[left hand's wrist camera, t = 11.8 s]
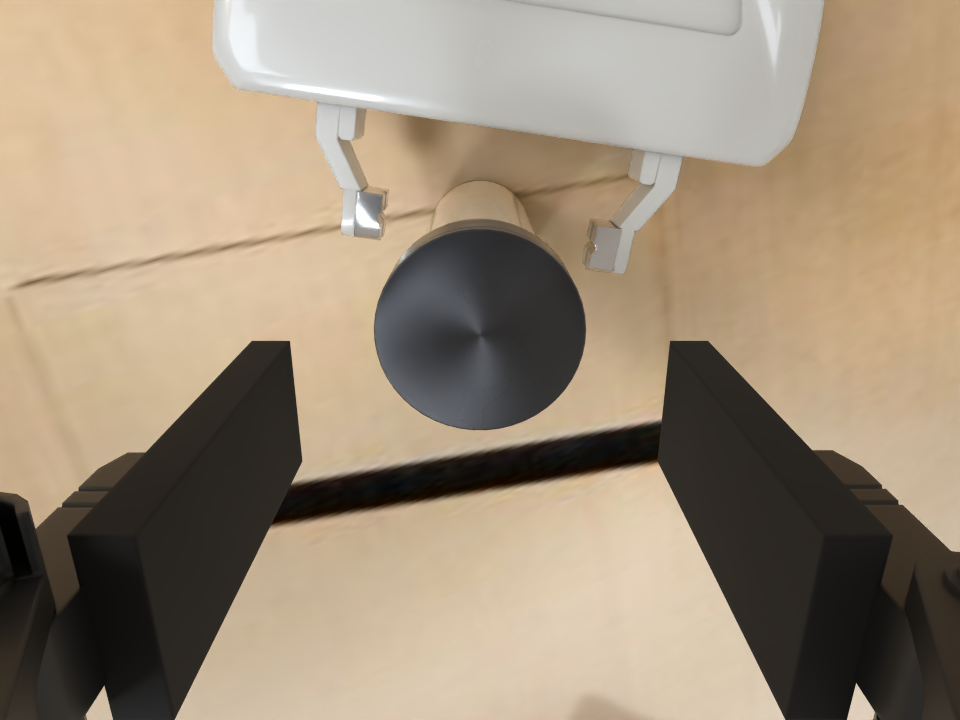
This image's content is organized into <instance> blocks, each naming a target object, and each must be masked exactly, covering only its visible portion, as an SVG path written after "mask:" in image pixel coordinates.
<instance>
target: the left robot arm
mask: <svg viewBox="0 0 960 720" xmlns="http://www.w3.org/2000/svg"><path fill="white" fill-rule="evenodd" d="M301 463H302V454H301V444H300V434H299V425H298V415H297V405H296V396H295V386H294V377H293V367H292V357H291V348H290V341H252V342H251V343H250V344H249V345H248V346H247V347H246V348H245V349H244V350H243V351H242V352H241V353H240V354H239V355H238V356H237V357H236V358H235V359H234V360H233V361H232V363H231V364H230V365H229V366H228V367H227V368H226V369H225V370H224V371H223V372H222V373H221V374H220V375H219V376H218V377H217V378H216V379H215V380H214V381H213V382H212V383H211V385H210V386H209V387H208V388H207V389H206V390H205V391H204V392H203V393H202V394H201V395H200V396H199V397H198V398H197V399H196V400H195V401H194V402H193V403H192V404H191V406H190V407H189V408H188V409H187V410H186V411H185V412H184V413H183V414H182V415H181V416H180V417H179V418H178V419H177V420H176V421H175V422H174V423H173V424H172V425H171V427H170V428H169V429H168V430H167V431H166V432H165V433H164V434H163V435H162V436H161V437H160V438H159V439H158V440H157V441H156V442H155V443H154V444H153V445H152V446H151V448H150V449H149V450H148V451H147V452H146V453H126V454H125V455H123V456H121V457H119V458H117V459H115V460H114V461H112V462H110V463H108V464H106V465H104V466H103V467H101V468H99V469H98V470H97V471H96V472H94V473H93V474H92V475H91V476H90V477H89V478H88V479H87V480H86V481H85V482H84V483H83V484H82V485H81V486H80V487H79V491H75V492H74V493H73V494H72V495H71V496H70V497H68V498H67V499H66V500H65V501H64V502H63V503H62V508H57V509H56V510H55V511H54V512H53V513H52V514H51V515H50V516H49V517H48V518H47V519H46V520H45V521H44V522H42V523H41V524H40V525H39V526H38V527H37V528H36V529H35V526H34V522H33V518H32V515H31V511H30V507H29V504H28V501H27V500H25V499H24V498H22V497H21V496H19V495H17V494H11V493H3V492H0V720H87V718H86V713H87V711H88V710H89V708H90V707H91V705H92V704H93V702H94V701H95V699H96V697H97V696H98V694H99V693H100V691H101V690H102V688H103V687H104V685H105V689H106V693H107V697H108V701H109V705H110V709H111V713H112V717H113V720H175V718H176V716H177V714H178V712H179V710H180V708H181V706H182V704H183V702H184V700H185V698H186V696H187V693H188V691H189V689H190V687H191V685H192V683H193V681H194V679H195V677H196V675H197V673H198V671H199V669H200V667H201V665H202V663H203V661H204V659H205V657H206V655H207V653H208V651H209V649H210V647H211V645H212V643H213V641H214V639H215V637H216V635H217V633H218V631H219V629H220V627H221V625H222V623H223V621H224V619H225V617H226V615H227V613H228V611H229V609H230V606H231V604H232V602H233V600H234V598H235V596H236V594H237V592H238V590H239V588H240V586H241V584H242V582H243V580H244V578H245V576H246V574H247V572H248V570H249V568H250V566H251V564H252V562H253V560H254V558H255V556H256V554H257V552H258V550H259V548H260V546H261V544H262V542H263V540H264V538H265V536H266V534H267V532H268V530H269V528H270V526H271V524H272V522H273V519H274V517H275V515H276V513H277V511H278V509H279V507H280V505H281V503H282V501H283V499H284V497H285V495H286V493H287V491H288V489H289V487H290V485H291V483H292V481H293V479H294V477H295V475H296V473H297V471H298V469H299V467H300V465H301ZM658 463H659V465H660V467H661V469H662V471H663V473H664V475H665V477H666V479H667V481H668V483H669V485H670V487H671V489H672V491H673V493H674V495H675V497H676V499H677V501H678V503H679V505H680V507H681V509H682V511H683V513H684V515H685V517H686V519H687V522H688V524H689V526H690V528H691V530H692V532H693V534H694V536H695V538H696V540H697V542H698V544H699V546H700V548H701V550H702V552H703V554H704V556H705V558H706V560H707V562H708V564H709V566H710V568H711V570H712V572H713V574H714V576H715V578H716V580H717V582H718V584H719V586H720V588H721V590H722V592H723V594H724V596H725V598H726V600H727V602H728V604H729V606H730V609H731V611H732V613H733V615H734V617H735V619H736V621H737V623H738V625H739V627H740V629H741V631H742V633H743V635H744V637H745V639H746V641H747V643H748V645H749V647H750V649H751V651H752V653H753V655H754V657H755V659H756V661H757V663H758V665H759V667H760V669H761V671H762V673H763V675H764V677H765V679H766V681H767V683H768V685H769V687H770V689H771V691H772V693H773V696H774V698H775V700H776V702H777V704H778V706H779V708H780V710H781V712H782V714H783V716H784V718H785V720H847V717H848V713H849V709H850V705H851V701H852V697H853V693H854V689H855V685H856V683H857V685H858V686H859V688H860V689H861V691H862V692H863V694H864V695H865V697H866V698H867V700H868V702H869V703H870V705H871V706H872V708H873V709H874V711H875V714H874V718H873V720H960V552H953V551H950V550H949V549H948V548H947V547H946V546H945V545H944V544H943V543H942V542H941V541H940V540H939V539H938V538H937V537H936V536H935V535H934V534H932V533H931V532H930V531H929V530H928V529H927V528H926V527H925V526H924V525H923V524H922V523H921V522H920V521H919V520H918V519H917V518H916V517H915V516H914V515H913V514H912V513H910V512H909V511H908V510H907V509H906V508H905V507H904V506H903V505H899V504H898V500H897V499H896V498H895V497H894V496H893V495H892V494H891V493H890V492H888V491H887V490H886V489H882V485H881V484H880V483H879V482H878V481H877V480H876V479H875V478H874V477H873V476H872V475H871V474H870V473H869V472H868V471H866V470H865V469H864V468H863V467H862V466H860V465H859V464H857V463H855V462H853V461H851V460H849V459H848V458H846V457H844V456H842V455H840V454H838V453H836V452H835V451H833V450H811V449H810V448H809V446H808V445H807V444H806V443H805V442H804V441H803V440H802V439H801V438H800V437H799V436H798V435H797V434H796V433H795V432H794V431H793V430H792V429H791V428H790V427H789V425H788V424H787V423H786V422H785V421H784V420H783V419H782V418H781V417H780V416H779V415H778V414H777V413H776V412H775V411H774V410H773V409H772V408H771V407H770V406H769V404H768V403H767V402H766V401H765V400H764V399H763V398H762V397H761V396H760V395H759V394H758V393H757V392H756V391H755V390H754V389H753V388H752V387H751V386H750V385H749V383H748V382H747V381H746V380H745V379H744V378H743V377H742V376H741V375H740V374H739V373H738V372H737V371H736V370H735V369H734V368H733V367H732V366H731V365H730V364H729V363H728V361H727V360H726V359H725V358H724V357H723V356H722V355H721V354H720V353H719V352H718V351H717V350H716V349H715V348H714V347H713V346H712V345H711V344H710V343H709V342H708V341H670V348H669V357H668V367H667V377H666V386H665V396H664V405H663V415H662V425H661V434H660V444H659V454H658Z"/></svg>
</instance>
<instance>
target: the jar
mask: <svg viewBox="0 0 960 720" xmlns="http://www.w3.org/2000/svg"><path fill="white" fill-rule="evenodd" d="M468 219H492V220H499V221H504V222H507V223H511V224H514V225H517V226H519V227H521V228H524V229H526V230H528V231H529V232H531V233H533V234H534V235H535V233H534V231H533V228H532V226H531V223H530V221H529V219H528V216H527V214H526V211H525V209H524V207H523V205H522V203H521V202H520V201H519V199H518V198H517V197H516V196H515V195H514V194H513V193H512V192H511V191H509V190H508V189H507V188H505V187H503V186H501V185H499V184H497V183H493V182H489V181H471V182H467V183H463V184H461V185H459V186H457V187H455V188H453V189H452V190H451V191H449V192H448V193H447V194H446V195H445V196H444V197H443V198H442V199H441V201H440V202H439V204H438V205H437V207H436V209H435V211H434V214H433V216H432V219H431V221H430V223H429V226H428V228H427V231H426V233H425V235H426V234H427V233H429V232H431V231H433V230H434V229H436V228H439V227H441V226H444V225H446V224H449V223H453V222H457V221H460V220H468Z"/></svg>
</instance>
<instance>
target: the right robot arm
mask: <svg viewBox="0 0 960 720" xmlns="http://www.w3.org/2000/svg"><path fill="white" fill-rule="evenodd" d="M824 2H825V0H214V10H213V27H212V52H213V56H214V58H215V60H216V62H217V64H218V65H219V67H220V68H221V70H222V71H223V73H224V74H225V76H226V77H227V79H228V80H229V82H230V83H231V84H232V86H233V87H234V88H236V89H238V90H243V91H249V92H256V93H263V94H269V95H276V96H283V97H289V98H296V99H303V100H309V101H316V102H317V118H316V138H317V140H318V143H319V145H320V147H321V149H322V151H323V153H324V155H325V157H326V159H327V161H328V164H329V166H330V168H331V170H332V172H333V174H334V176H335V178H336V180H337V182H338V184H339V187H340V188H342V189H344V191H343V206H342V221H341V232H342V235H344V236H350V237H359V238H367V239H375V240H381V237H383V235H384V232H385V226H386V216H385V214H384V212H383V211H384V210H385V208H386V207H387V206H388V194H389V189H383V188H377V187H371V186H368V183H367V180H366V178H365V176H364V173H363V171H362V169H361V166H360V164H359V162H358V159H357V157H356V154H355V152H354V150H353V147H352V145H351V143H350V141H353V140H356V139H359V138H361V137H363V136H364V128H365V117H366V109H370V110H376V111H383V112H390V113H396V114H403V115H410V116H416V117H423V118H430V119H437V120H443V121H450V122H457V123H463V124H470V125H477V126H483V127H490V128H497V129H503V130H510V131H517V132H524V133H530V134H537V135H544V136H550V137H557V138H564V139H570V140H577V141H584V142H591V143H597V144H604V145H611V146H617V147H624V148H631V149H633V151H632V156H631V162H630V167H629V172H628V175H629V177H630V178H631V179H633V180H635V181H637V182H639V185H638V186H637V187H636V188H635V190H634V191H633V192H632V193H631V195H630V196H629V197H628V198H627V199H626V201H625V202H624V203H623V204H622V206H621V207H620V208H619V209H618V210H617V212H616V213H615V214H614V215H613V217H612V218H611V219H610V220H611V221H607V220H598V219H590V221H589V226H588V231H587V236H588V238H589V242H588V243H587V244H586V245H585V246H584V252H583V265H585V266H586V267H585V268H586V269H588V270H594V271H601V272H607V273H614V274H621V275H623V274H624V273H625V271H626V268H627V265H628V260H629V256H630V251H631V247H632V242H633V238H634V233H635V231H639V230H640V229H641V227H642V226H643V225H644V224H645V223H646V222H647V221H648V220H649V219H650V217H651V216H652V215H653V214H654V213H655V212H656V211H657V210H658V208H659V207H660V206H661V205H662V204H663V203H664V202H665V201H666V199H667V198H668V197H669V196H670V195H671V194H672V193H673V192H674V191H675V189H676V185H677V181H678V176H679V172H680V168H681V164H682V160H683V156H684V157H691V158H698V159H704V160H711V161H718V162H724V163H731V164H738V165H745V166H752V167H762V166H764V165H766V164H767V163H769V162H770V161H771V160H772V159H773V158H775V157H776V156H777V155H778V154H779V153H780V152H781V151H782V150H783V149H784V148H785V147H787V146H788V145H789V143H790V142H791V141H792V139H793V137H794V135H795V132H796V130H797V127H798V124H799V121H800V118H801V114H802V110H803V107H804V103H805V99H806V95H807V91H808V87H809V83H810V79H811V74H812V70H813V65H814V61H815V55H816V50H817V45H818V40H819V34H820V28H821V22H822V16H823V9H824Z"/></svg>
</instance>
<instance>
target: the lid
mask: <svg viewBox="0 0 960 720" xmlns="http://www.w3.org/2000/svg"><path fill="white" fill-rule="evenodd" d="M374 337H375V345H376V350H377V355H378V358H379V361H380V364H381V367H382V369H383V371H384V373H385V375H386V377H387V379H388V380H389V382H390V383H391V385H392V386H393V388H394V389H395V390H396V391H397V392H398V394H399V395H400V396H401V397H402V398H403V399H404V400H405V401H406V402H407V403H408V404H410V405H411V406H412V407H413V408H415V409H416V410H417V411H419V412H420V413H422V414H423V415H425V416H427V417H429V418H431V419H433V420H435V421H437V422H440V423H443V424H445V425H448V426H452V427H456V428H461V429H469V430H491V429H499V428H504V427H508V426H512V425H515V424H517V423H520V422H523V421H525V420H527V419H529V418H531V417H533V416H535V415H537V414H538V413H540V412H541V411H543V410H544V409H546V408H547V407H548V406H549V405H550V404H552V403H553V402H554V401H555V400H556V399H557V398H558V397H559V396H560V395H561V394H562V392H563V391H564V390H565V389H566V387H567V386H568V385H569V383H570V382H571V380H572V379H573V377H574V375H575V373H576V371H577V369H578V367H579V364H580V361H581V358H582V355H583V350H584V346H585V337H586V322H585V313H584V309H583V304H582V301H581V298H580V295H579V293H578V290H577V288H576V286H575V284H574V282H573V280H572V278H571V276H570V274H569V273H568V271H567V269H566V267H565V265H564V263H563V262H562V261H561V259H560V258H559V257H558V255H557V254H556V253H555V252H554V251H553V250H552V249H551V248H550V247H549V245H548V244H546V243H545V242H544V241H543V240H541V239H540V238H539V237H538V236H536V235H534V234H533V233H531V232H529V231H528V230H526V229H524V228H521V227H519V226H517V225H514V224H511V223H507V222H504V221H499V220H492V219H468V220H460V221H457V222H453V223H449V224H446V225H444V226H441V227H439V228H436V229H434V230H433V231H431V232H429V233H427V234H426V235H424V236H423V237H421V238H420V239H419V240H417V241H416V242H415V243H414V244H413V245H412V246H411V247H410V248H409V249H408V250H407V251H406V252H405V253H404V254H403V255H402V257H401V258H400V259H399V261H398V262H397V263H396V265H395V267H394V269H393V271H392V273H391V274H390V276H389V278H388V280H387V282H386V284H385V286H384V288H383V290H382V293H381V295H380V298H379V301H378V304H377V309H376V313H375V322H374Z"/></svg>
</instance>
